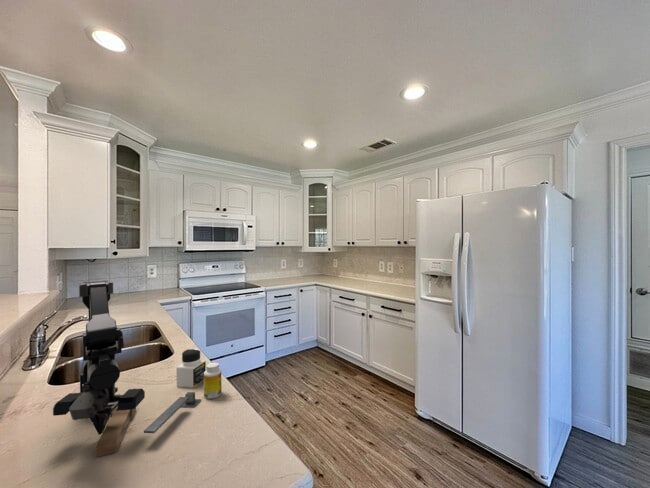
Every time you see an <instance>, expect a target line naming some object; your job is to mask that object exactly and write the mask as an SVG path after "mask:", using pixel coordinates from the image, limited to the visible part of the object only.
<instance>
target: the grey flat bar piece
mask: <svg viewBox="0 0 650 488" xmlns="http://www.w3.org/2000/svg"><path fill="white" fill-rule="evenodd" d="M184 395H185V396H179V398H177V399H176V400H175V401H174V402H173V403H172V404H171V405H169V407H168V408H167V409H165V410H164V411H163V412H162V413H161V414H160V415H159V416H158V417H156V419H155V420H154V421H153V422H151V424H149V425H148V426H147V427H146V428H145V429H144V430H143V434H155V433H157V431H158V430H159V429H160V428H161V427H162V426H163V425H165V423H167V421H168V420H170V419H171V418H172V417H173V415H175V414H176V412H177V411H178V410H180V408H194V409H195V408H196V407H197V405H199V403H201V401H202V398H201V399H200V398H196V392H193V391H187V392H186V393H185V394H184Z"/></svg>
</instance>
